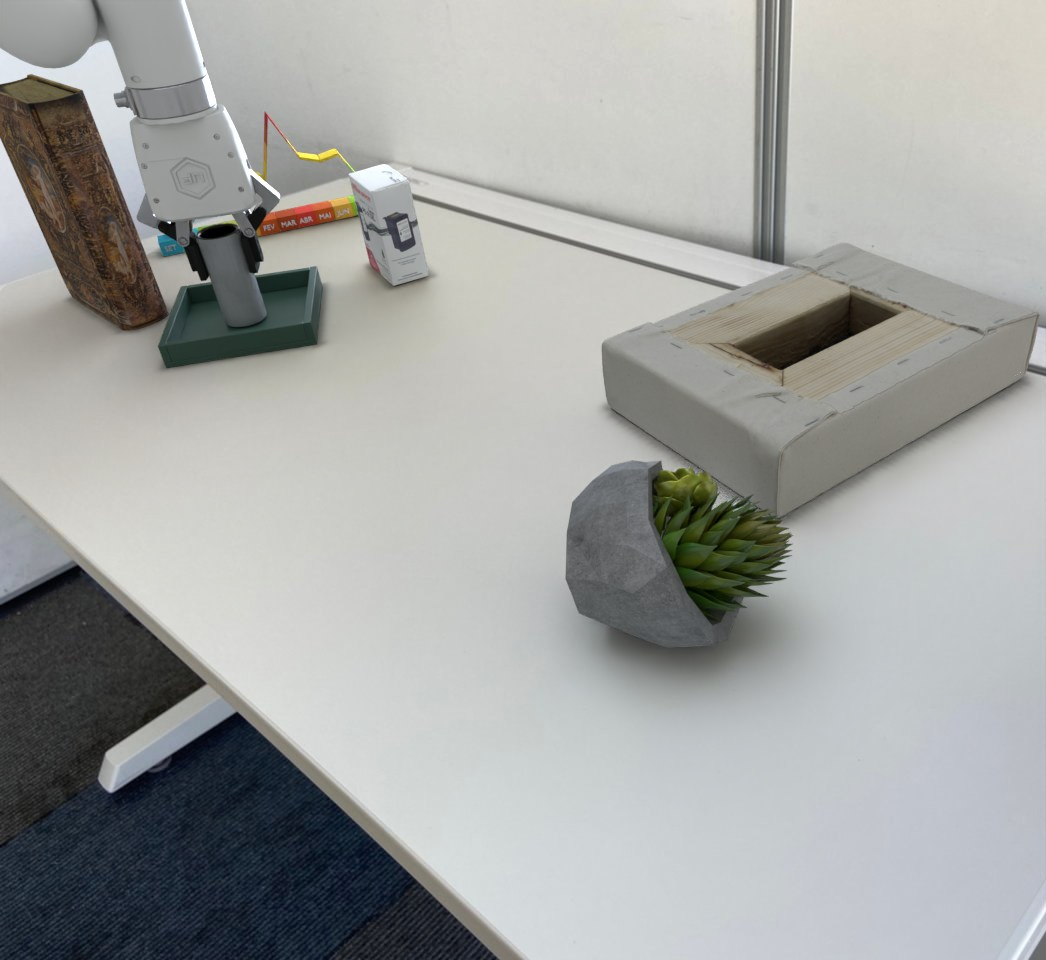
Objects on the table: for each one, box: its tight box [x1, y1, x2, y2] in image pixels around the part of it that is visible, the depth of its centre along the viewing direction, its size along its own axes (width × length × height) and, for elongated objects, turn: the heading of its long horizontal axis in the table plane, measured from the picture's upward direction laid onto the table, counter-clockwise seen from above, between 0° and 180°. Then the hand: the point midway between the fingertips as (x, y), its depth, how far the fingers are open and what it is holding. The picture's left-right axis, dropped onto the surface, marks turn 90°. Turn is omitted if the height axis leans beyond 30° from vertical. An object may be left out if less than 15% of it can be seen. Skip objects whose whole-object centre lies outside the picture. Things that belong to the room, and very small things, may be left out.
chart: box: [156, 110, 358, 257], centre depth 130 cm, size 30×3×15 cm, turn 115°
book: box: [0, 73, 169, 331], centre depth 109 cm, size 16×6×25 cm, turn 47°
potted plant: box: [564, 460, 794, 649], centre depth 64 cm, size 12×13×15 cm
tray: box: [157, 265, 323, 369], centre depth 109 cm, size 16×16×3 cm
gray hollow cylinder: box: [195, 222, 267, 327], centre depth 107 cm, size 4×4×10 cm
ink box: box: [347, 163, 430, 287], centre depth 116 cm, size 8×5×12 cm, turn 32°
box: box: [601, 242, 1041, 519], centre depth 88 cm, size 23×8×32 cm
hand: (230, 270), depth 106 cm, fingers closed on gray hollow cylinder, 4 cm apart
